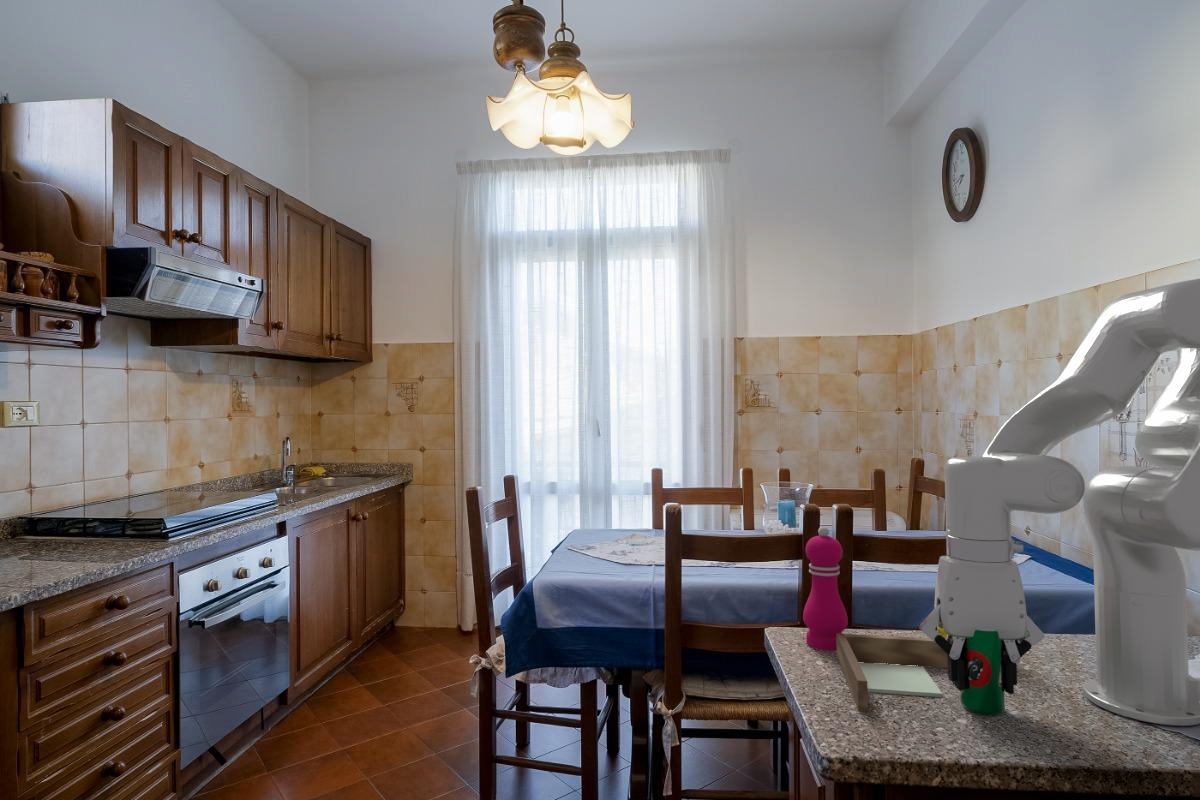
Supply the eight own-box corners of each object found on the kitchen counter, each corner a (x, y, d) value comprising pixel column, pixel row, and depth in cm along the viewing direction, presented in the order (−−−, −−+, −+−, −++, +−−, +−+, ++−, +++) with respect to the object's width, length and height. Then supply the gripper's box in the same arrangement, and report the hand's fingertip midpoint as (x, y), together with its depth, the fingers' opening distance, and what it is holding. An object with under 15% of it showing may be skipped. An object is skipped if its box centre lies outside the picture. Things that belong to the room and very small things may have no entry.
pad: (922, 669, 100) (922, 666, 100) (942, 697, 90) (942, 693, 90) (853, 665, 102) (853, 662, 102) (865, 691, 92) (865, 688, 93)
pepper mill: (796, 638, 115) (794, 523, 115) (836, 636, 116) (833, 522, 116) (814, 653, 108) (812, 530, 108) (856, 651, 108) (853, 529, 109)
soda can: (1011, 719, 84) (1009, 624, 84) (968, 716, 85) (966, 622, 85) (996, 702, 89) (993, 612, 89) (955, 699, 90) (953, 611, 90)
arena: (970, 666, 101) (969, 640, 101) (1023, 723, 82) (1022, 691, 83) (836, 658, 105) (836, 633, 105) (858, 711, 86) (857, 680, 87)
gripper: (1037, 546, 89) (1041, 681, 89) (902, 542, 93) (905, 672, 92) (1064, 557, 82) (1068, 705, 81) (916, 553, 85) (920, 695, 85)
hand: (981, 686), depth 87 cm, fingers closed on soda can, 5 cm apart
